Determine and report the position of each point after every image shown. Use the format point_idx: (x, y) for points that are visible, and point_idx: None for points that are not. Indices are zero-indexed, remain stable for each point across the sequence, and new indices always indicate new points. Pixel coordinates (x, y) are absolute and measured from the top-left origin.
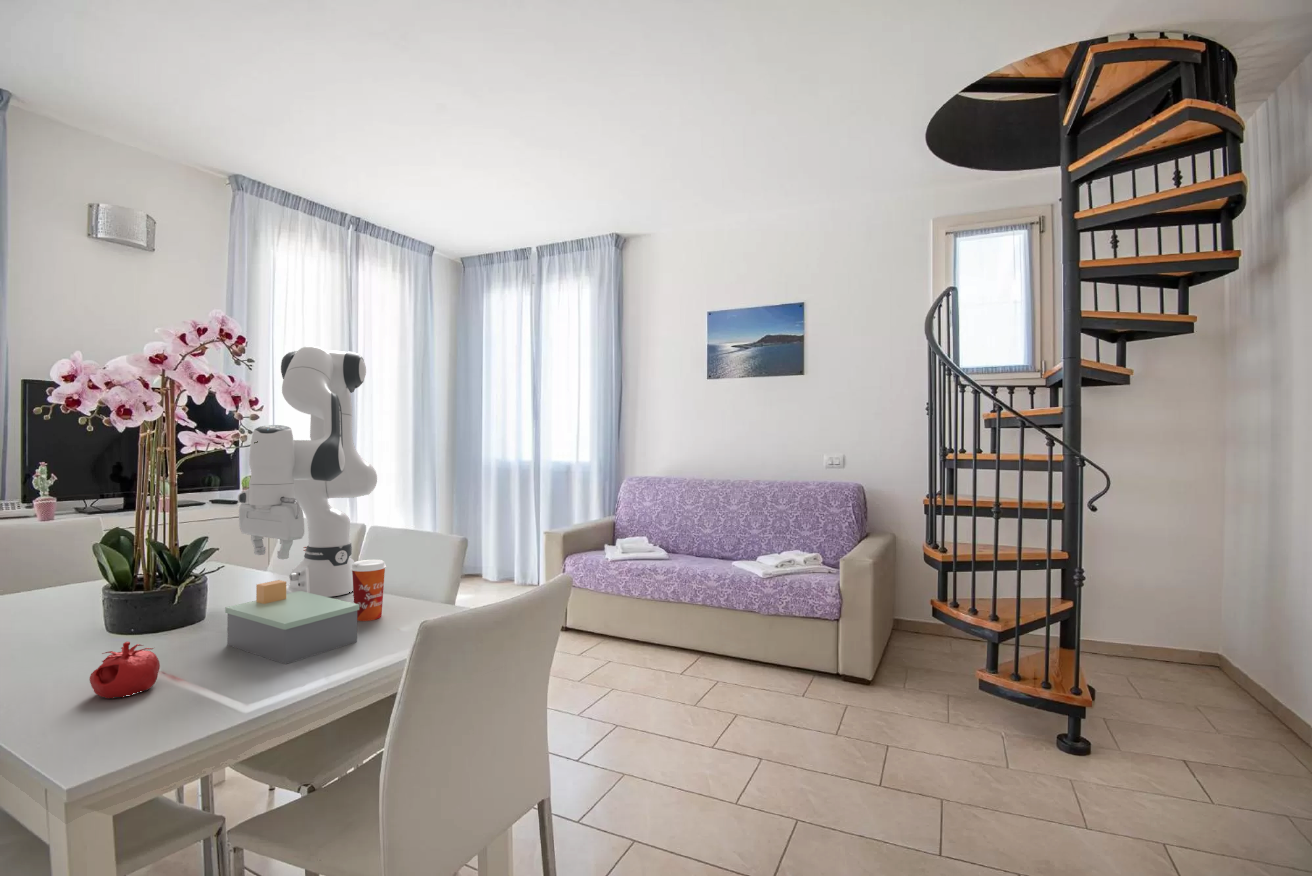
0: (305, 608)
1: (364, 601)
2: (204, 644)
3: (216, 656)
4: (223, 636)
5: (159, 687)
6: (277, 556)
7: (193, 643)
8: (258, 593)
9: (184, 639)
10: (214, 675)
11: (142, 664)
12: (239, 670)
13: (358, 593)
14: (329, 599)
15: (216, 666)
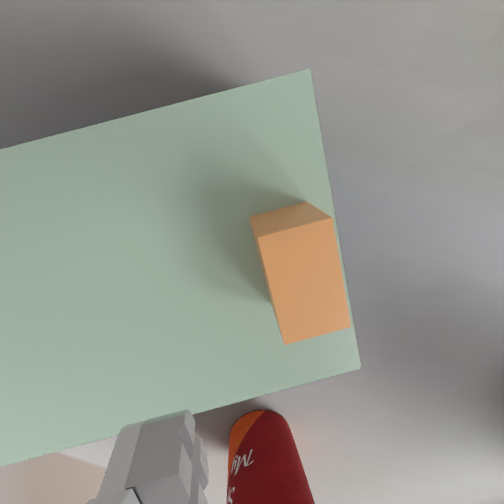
0: (51, 321)
1: (235, 477)
2: (376, 62)
3: (226, 60)
4: (413, 126)
5: None
6: (185, 420)
7: (413, 37)
8: (300, 213)
9: (477, 25)
10: (34, 7)
11: None
12: (39, 79)
13: (250, 491)
14: (144, 413)
15: (123, 35)
